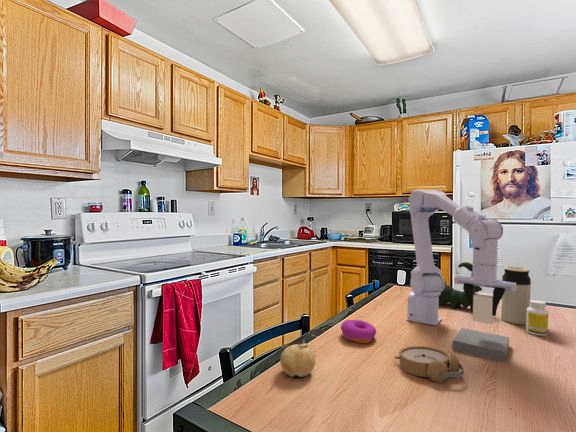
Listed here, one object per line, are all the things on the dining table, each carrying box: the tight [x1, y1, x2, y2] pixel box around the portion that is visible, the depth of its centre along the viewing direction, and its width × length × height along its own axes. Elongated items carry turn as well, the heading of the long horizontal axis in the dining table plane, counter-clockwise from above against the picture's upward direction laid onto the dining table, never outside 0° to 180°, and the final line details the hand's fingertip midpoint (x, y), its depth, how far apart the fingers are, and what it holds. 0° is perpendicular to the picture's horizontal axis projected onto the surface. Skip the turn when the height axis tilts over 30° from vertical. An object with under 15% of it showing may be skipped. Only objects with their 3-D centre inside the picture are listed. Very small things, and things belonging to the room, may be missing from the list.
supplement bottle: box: [525, 299, 549, 337], centre depth 105 cm, size 5×5×10 cm
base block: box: [452, 327, 510, 363], centre depth 94 cm, size 12×12×2 cm
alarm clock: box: [394, 345, 465, 383], centre depth 81 cm, size 11×5×15 cm
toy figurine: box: [439, 261, 483, 309], centre depth 135 cm, size 9×19×25 cm
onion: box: [279, 339, 316, 378], centre depth 79 cm, size 8×8×7 cm
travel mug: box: [500, 265, 532, 326], centre depth 116 cm, size 8×8×18 cm
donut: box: [340, 319, 377, 344], centre depth 101 cm, size 10×10×5 cm
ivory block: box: [472, 291, 495, 325], centre depth 95 cm, size 4×4×7 cm
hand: (483, 313), depth 94 cm, fingers closed on ivory block, 4 cm apart
